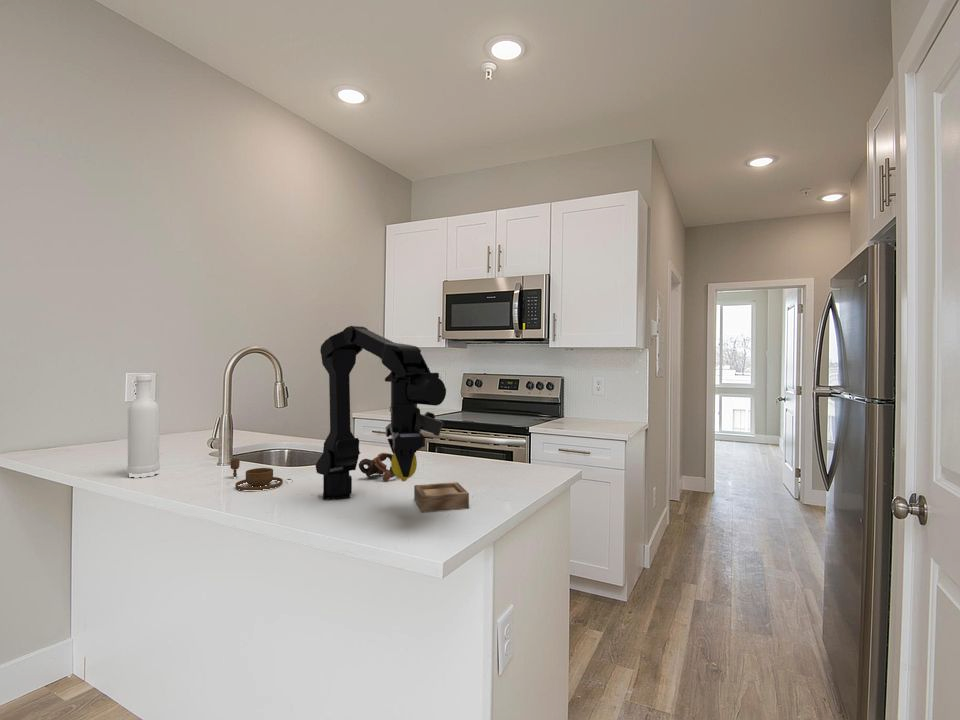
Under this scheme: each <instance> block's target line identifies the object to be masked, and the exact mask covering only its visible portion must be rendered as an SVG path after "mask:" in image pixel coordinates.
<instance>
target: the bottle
mask: <svg viewBox="0 0 960 720" xmlns="http://www.w3.org/2000/svg"><path fill="white" fill-rule="evenodd" d="M135 377H136V378H135V383H136V386H135V387H136V393H135V394H136V399H134V400H133V401H132V402H131V403H130V404H129V407H128V408H127V467H126V468H127V470H126V471H127V474H128V473H132V474H142V473H150V472H155V471H157V470H159V471H160V468H161V467H160V408H159V405H158V402H156V401H155V400H154V399H152V381H153V380H152V379H153V378H152V375H151V374H137V375H136V376H135Z"/></svg>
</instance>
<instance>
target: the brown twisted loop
mask: <svg viewBox="0 0 960 720" xmlns="http://www.w3.org/2000/svg"><path fill="white" fill-rule="evenodd" d="M392 456H393V453H388V452H381V453H379V454H377V456H376V457H373V459H368V458H363V459H361V460H360V461H359V463H358V468H359V470H360V472H361V473H362V474H365V475H366V478H368V477H369V478H370V477H371V476H373V475H375V474H376V475H381V474H383V476H382V481H383V482H388V481H389V480H390V479H391V478H394V477H396V476H395V475H394V473H393V471H392V467H391V466H390V467H389V469H387V464H385V463H383V462H385V460H387V458H388V459H389V461H390V462H391V461H392ZM365 466H367V467H365Z"/></svg>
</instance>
